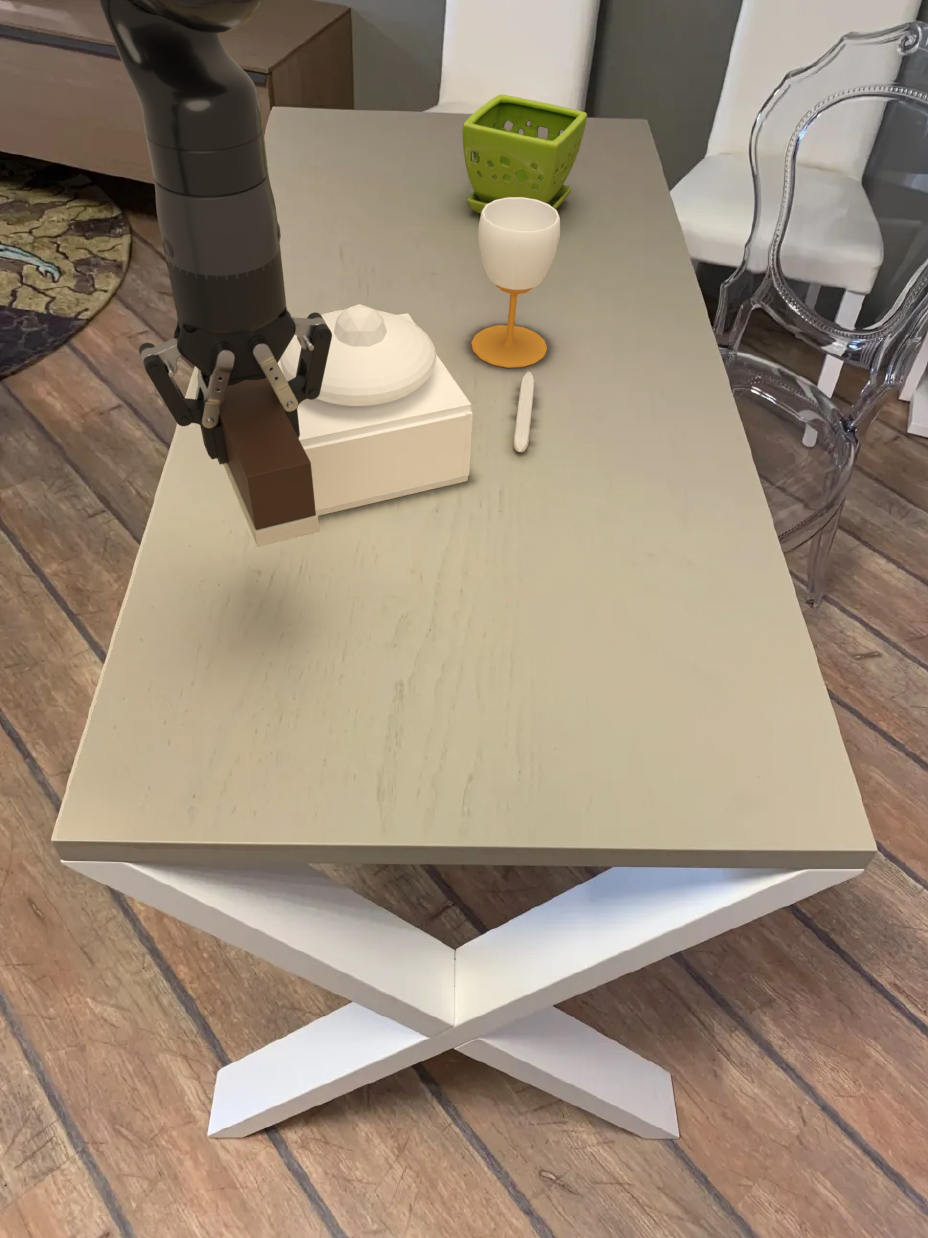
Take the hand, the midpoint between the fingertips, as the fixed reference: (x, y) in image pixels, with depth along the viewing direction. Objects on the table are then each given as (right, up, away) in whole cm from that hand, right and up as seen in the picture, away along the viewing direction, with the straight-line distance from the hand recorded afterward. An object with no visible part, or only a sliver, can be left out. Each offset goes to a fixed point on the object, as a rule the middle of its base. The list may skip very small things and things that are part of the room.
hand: (253, 449), depth 75 cm
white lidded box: (+6, +4, +24) cm, 25 cm away
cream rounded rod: (+23, +9, +29) cm, 38 cm away
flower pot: (+25, +46, +63) cm, 82 cm away
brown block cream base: (+1, -3, 0) cm, 4 cm away
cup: (+22, +19, +38) cm, 48 cm away
